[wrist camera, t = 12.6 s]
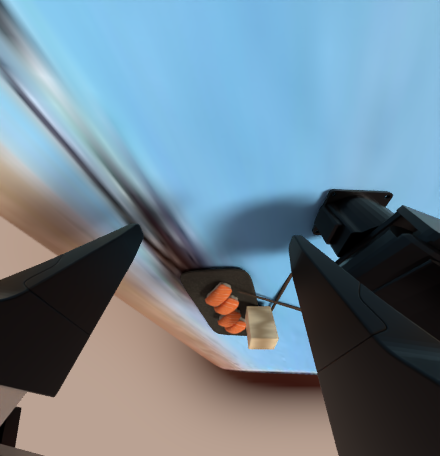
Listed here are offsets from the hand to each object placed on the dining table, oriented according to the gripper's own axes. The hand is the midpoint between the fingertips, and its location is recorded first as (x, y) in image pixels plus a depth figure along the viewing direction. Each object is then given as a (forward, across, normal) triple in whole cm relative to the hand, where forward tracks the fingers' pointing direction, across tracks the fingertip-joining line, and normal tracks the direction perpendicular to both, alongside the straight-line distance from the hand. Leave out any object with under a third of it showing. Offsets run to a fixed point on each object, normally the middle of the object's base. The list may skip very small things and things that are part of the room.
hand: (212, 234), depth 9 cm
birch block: (+10, -7, +30) cm, 33 cm away
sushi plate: (+13, -8, +30) cm, 34 cm away
